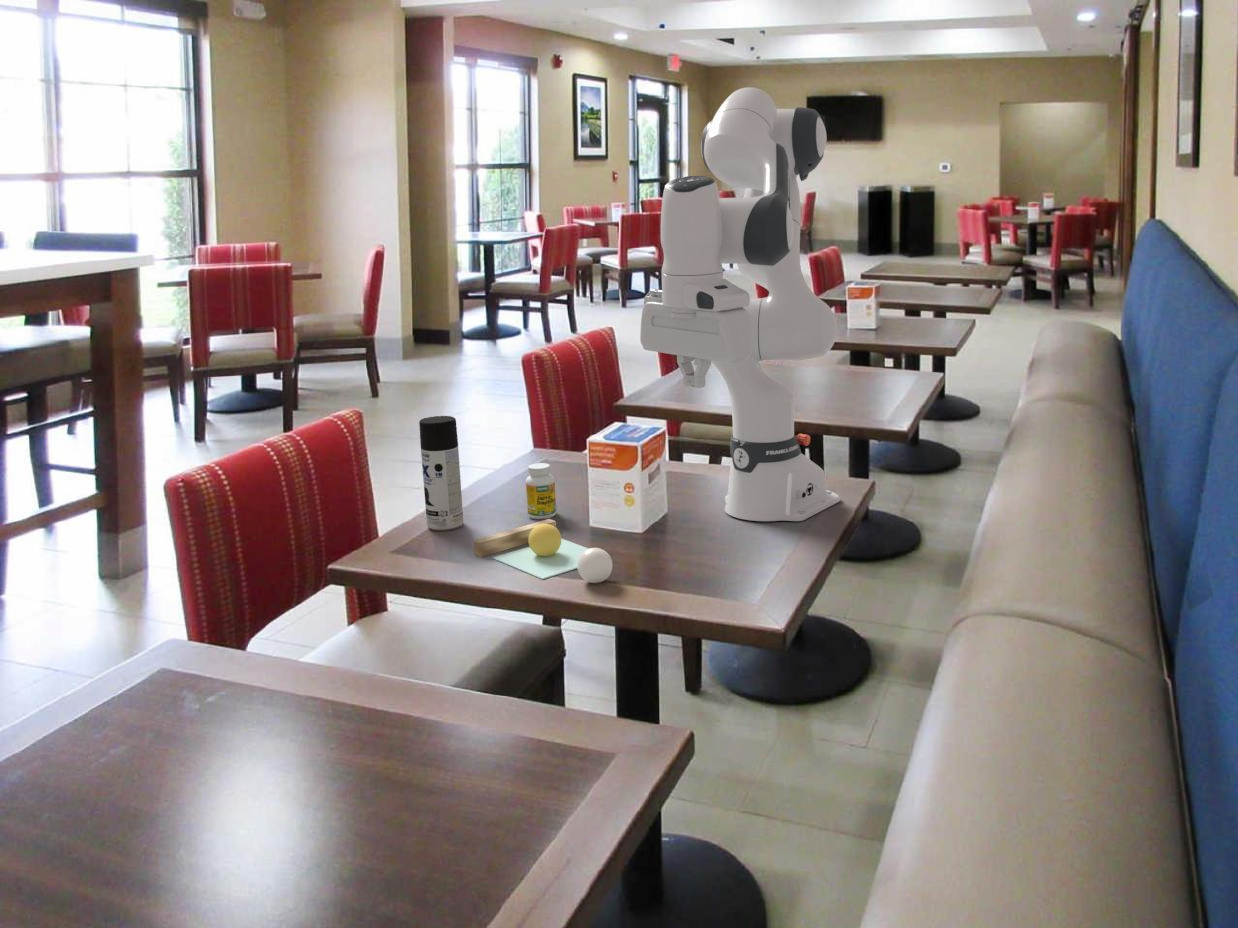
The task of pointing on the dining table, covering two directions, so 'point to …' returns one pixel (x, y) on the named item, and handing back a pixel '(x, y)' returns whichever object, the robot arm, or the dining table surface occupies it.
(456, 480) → the spray can
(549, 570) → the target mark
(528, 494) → the supplement bottle
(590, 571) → the ball
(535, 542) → the ball
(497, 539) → the rail
